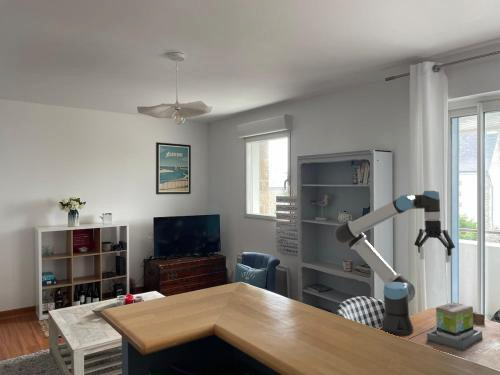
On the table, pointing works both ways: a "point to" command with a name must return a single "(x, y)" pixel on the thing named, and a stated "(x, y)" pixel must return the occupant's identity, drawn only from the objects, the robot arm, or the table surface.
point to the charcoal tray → (452, 343)
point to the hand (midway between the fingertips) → (434, 260)
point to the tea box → (454, 321)
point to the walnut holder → (478, 318)
